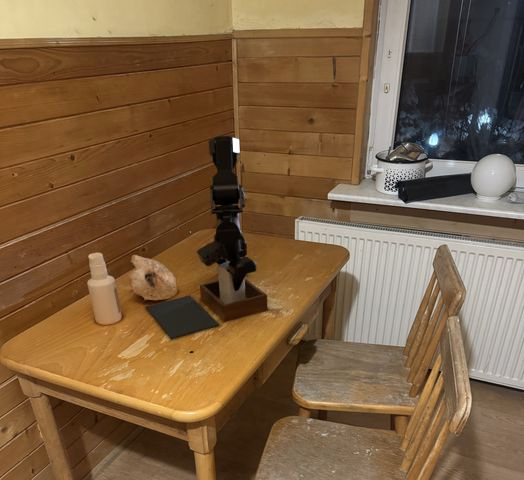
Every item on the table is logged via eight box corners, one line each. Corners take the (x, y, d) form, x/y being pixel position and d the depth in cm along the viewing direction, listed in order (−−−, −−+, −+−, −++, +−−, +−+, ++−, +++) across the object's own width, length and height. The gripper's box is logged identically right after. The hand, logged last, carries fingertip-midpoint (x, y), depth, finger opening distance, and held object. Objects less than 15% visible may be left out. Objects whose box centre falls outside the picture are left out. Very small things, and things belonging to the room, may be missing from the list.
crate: (200, 299, 143) (199, 284, 141) (241, 289, 148) (240, 274, 146) (224, 322, 131) (223, 306, 129) (267, 309, 137) (267, 294, 134)
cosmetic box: (235, 298, 143) (232, 257, 137) (246, 302, 141) (244, 261, 134) (219, 306, 139) (216, 264, 133) (231, 310, 137) (228, 268, 130)
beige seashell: (179, 316, 148) (184, 297, 143) (128, 315, 142) (133, 295, 137) (168, 274, 159) (173, 255, 153) (121, 271, 153) (125, 251, 147)
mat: (146, 308, 140) (145, 306, 139) (189, 297, 145) (189, 295, 144) (171, 339, 125) (170, 337, 124) (219, 325, 130) (219, 323, 129)
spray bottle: (127, 315, 136) (114, 251, 127) (112, 326, 131) (99, 261, 121) (105, 311, 138) (91, 249, 129) (90, 323, 133) (75, 258, 123)
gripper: (185, 226, 133) (191, 281, 141) (214, 248, 119) (219, 307, 127) (223, 219, 137) (227, 273, 145) (256, 239, 123) (258, 297, 131)
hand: (232, 287), depth 137 cm, fingers closed on cosmetic box, 5 cm apart
